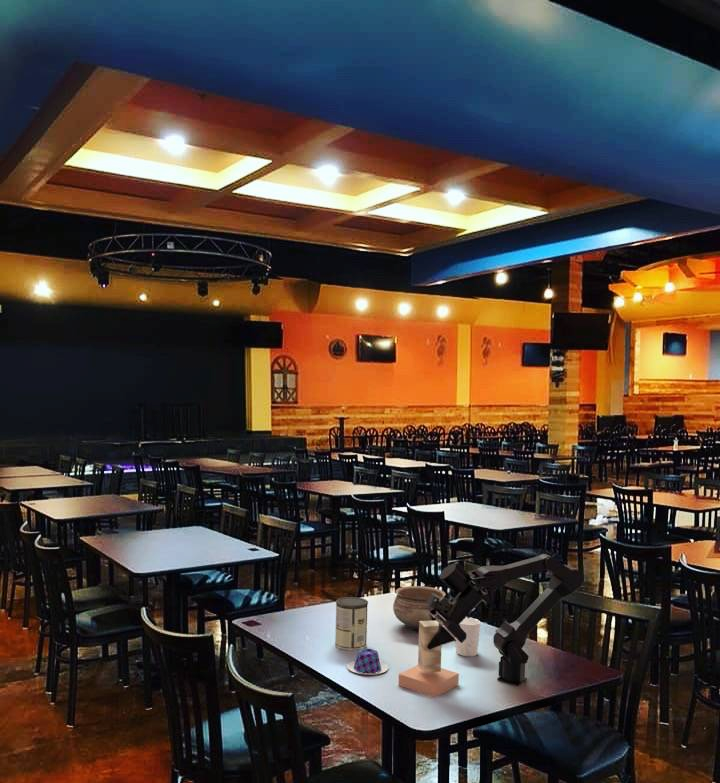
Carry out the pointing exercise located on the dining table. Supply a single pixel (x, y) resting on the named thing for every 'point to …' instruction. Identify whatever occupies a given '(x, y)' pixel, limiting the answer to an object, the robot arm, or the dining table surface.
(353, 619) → the coffee can
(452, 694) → the dining table surface
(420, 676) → the terracotta base
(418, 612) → the cooking pot
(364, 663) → the pudding
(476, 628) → the white cup
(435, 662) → the maple block
